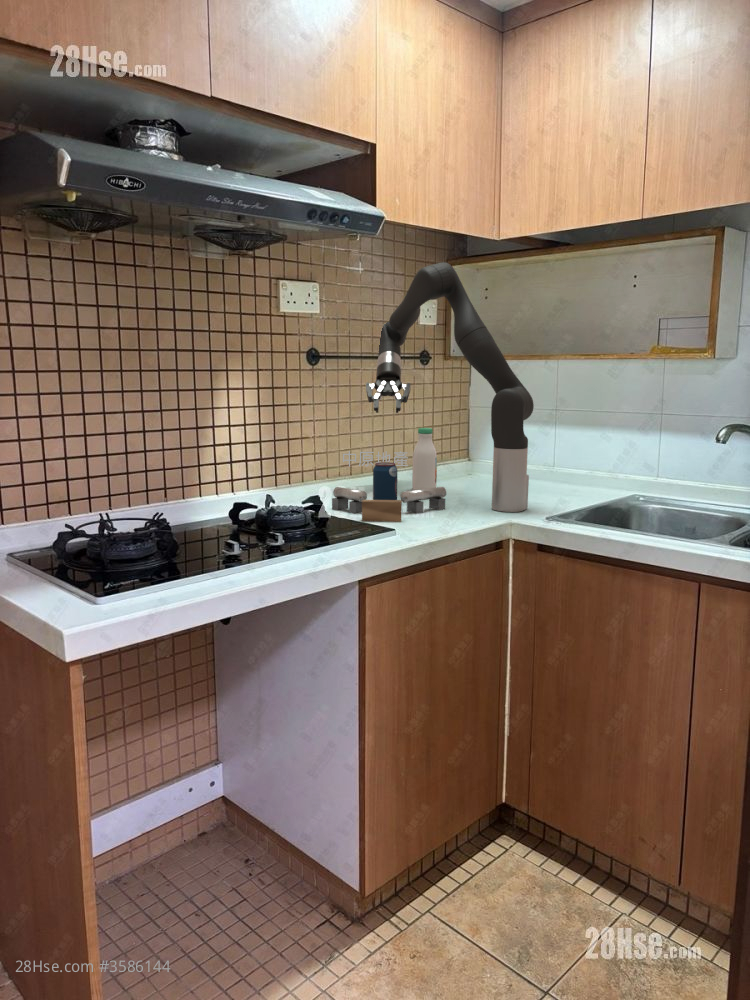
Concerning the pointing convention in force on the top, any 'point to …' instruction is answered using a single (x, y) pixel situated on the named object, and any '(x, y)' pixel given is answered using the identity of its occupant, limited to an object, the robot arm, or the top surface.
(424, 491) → the shaft
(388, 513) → the block
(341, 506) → the shaft
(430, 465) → the milk bottle
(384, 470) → the soda can
